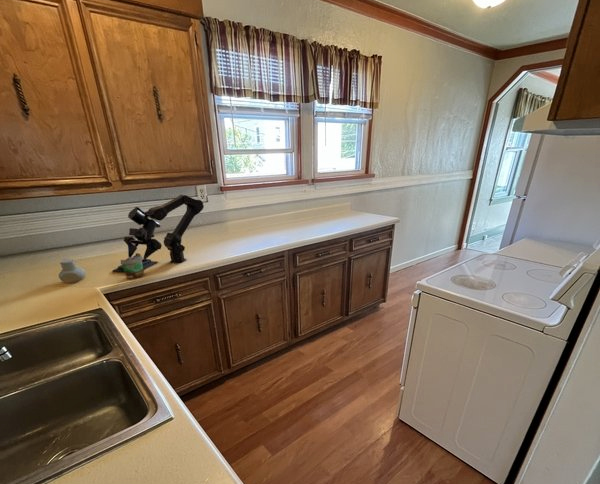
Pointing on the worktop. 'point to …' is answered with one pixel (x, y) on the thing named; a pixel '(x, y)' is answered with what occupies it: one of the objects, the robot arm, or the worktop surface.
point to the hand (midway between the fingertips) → (136, 257)
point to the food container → (133, 266)
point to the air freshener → (71, 271)
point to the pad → (145, 263)
